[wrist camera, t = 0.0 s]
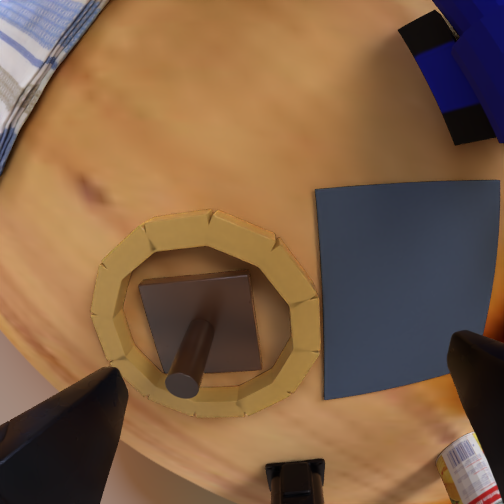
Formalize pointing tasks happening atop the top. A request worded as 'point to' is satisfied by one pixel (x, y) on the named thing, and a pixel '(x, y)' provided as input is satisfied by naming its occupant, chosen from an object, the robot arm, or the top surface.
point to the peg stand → (202, 326)
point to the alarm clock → (463, 65)
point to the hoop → (239, 246)
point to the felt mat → (402, 278)
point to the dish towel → (34, 54)
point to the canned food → (467, 473)
